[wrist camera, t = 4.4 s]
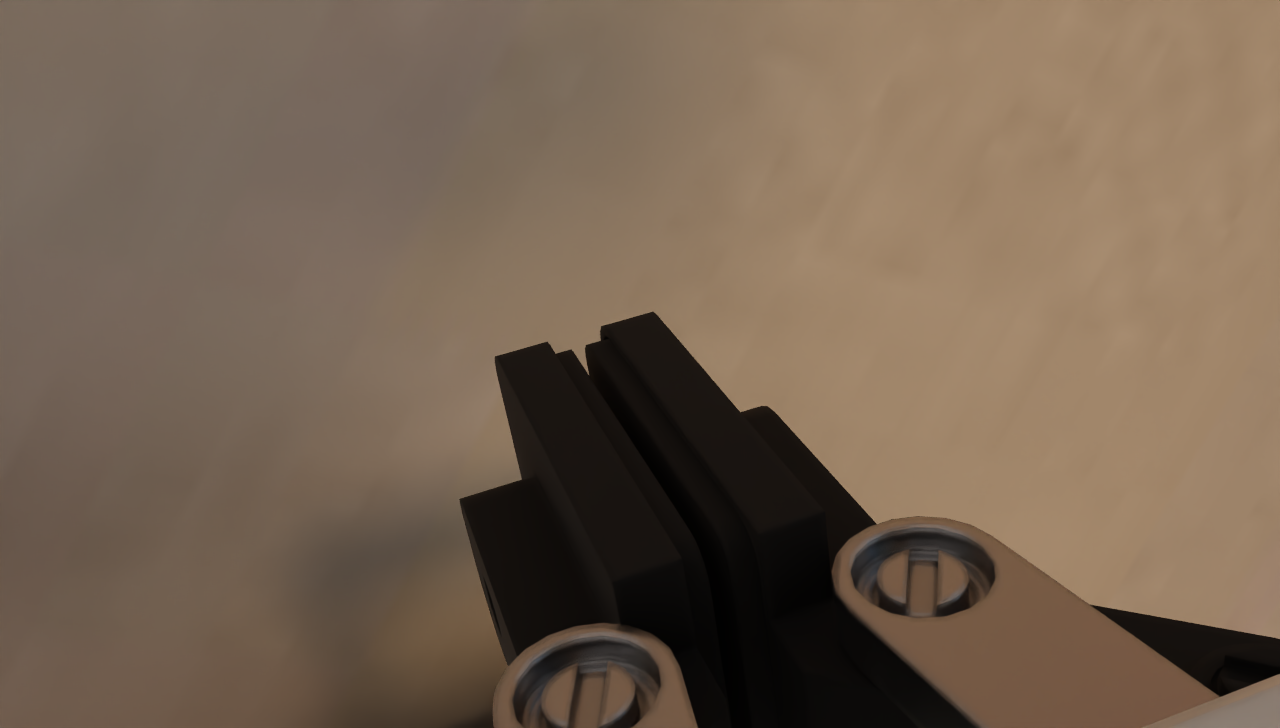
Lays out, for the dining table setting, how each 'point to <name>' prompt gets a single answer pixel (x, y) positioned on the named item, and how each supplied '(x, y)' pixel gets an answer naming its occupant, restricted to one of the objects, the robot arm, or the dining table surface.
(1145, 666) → the robot arm
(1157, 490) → the dining table surface
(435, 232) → the dining table surface
